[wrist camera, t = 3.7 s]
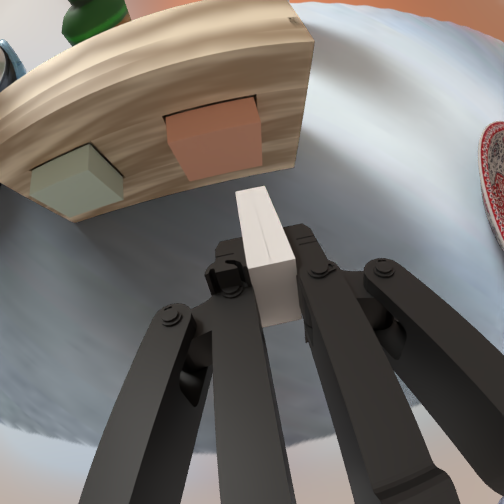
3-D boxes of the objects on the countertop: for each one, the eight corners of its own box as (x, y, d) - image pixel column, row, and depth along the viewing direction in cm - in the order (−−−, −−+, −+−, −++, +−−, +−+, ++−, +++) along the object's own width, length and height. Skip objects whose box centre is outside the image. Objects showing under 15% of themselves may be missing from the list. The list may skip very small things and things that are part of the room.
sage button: (123, 199, 31) (87, 169, 23) (69, 217, 31) (29, 195, 23) (122, 177, 31) (89, 143, 23) (70, 195, 31) (32, 170, 23)
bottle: (166, 79, 44) (115, -48, 16) (117, 113, 43) (39, -2, 15) (143, 58, 46) (95, -48, 18) (99, 88, 45) (33, -10, 17)
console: (294, 167, 39) (314, 41, 17) (74, 223, 39) (-29, 165, 18) (276, 112, 41) (279, -10, 19) (76, 168, 41) (-6, 97, 20)
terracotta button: (262, 165, 30) (260, 121, 23) (189, 181, 30) (167, 143, 23) (256, 143, 31) (253, 96, 23) (186, 158, 31) (165, 117, 23)
